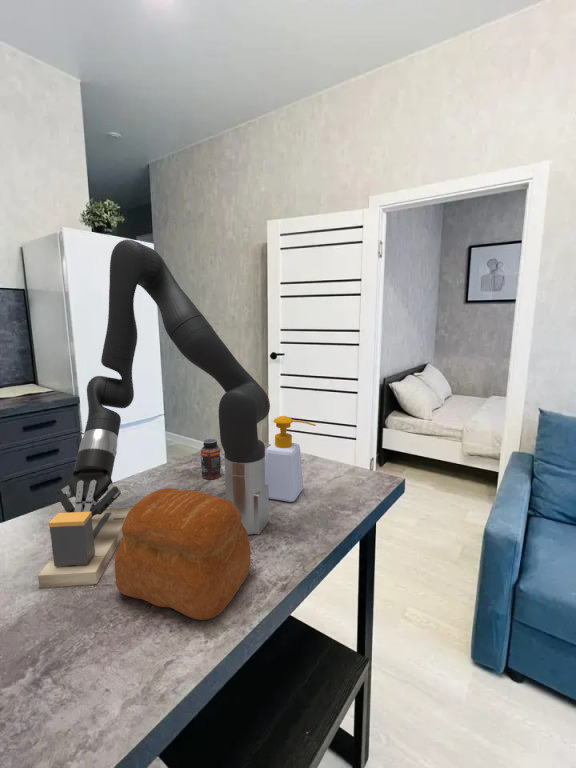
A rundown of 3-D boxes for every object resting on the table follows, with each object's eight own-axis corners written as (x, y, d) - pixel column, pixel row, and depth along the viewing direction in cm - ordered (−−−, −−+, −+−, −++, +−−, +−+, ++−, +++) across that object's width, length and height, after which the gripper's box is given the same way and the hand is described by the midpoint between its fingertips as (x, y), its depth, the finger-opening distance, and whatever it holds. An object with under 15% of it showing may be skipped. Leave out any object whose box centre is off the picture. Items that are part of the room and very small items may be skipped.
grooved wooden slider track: (90, 519, 95) (89, 509, 94) (133, 517, 96) (132, 507, 95) (39, 587, 71) (37, 575, 71) (96, 584, 72) (95, 571, 72)
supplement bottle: (225, 474, 121) (224, 439, 119) (214, 481, 116) (212, 445, 114) (209, 470, 124) (208, 436, 122) (197, 477, 119) (196, 442, 117)
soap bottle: (310, 507, 101) (311, 424, 97) (260, 498, 105) (259, 419, 101) (319, 491, 110) (320, 414, 106) (273, 484, 114) (273, 410, 110)
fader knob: (62, 554, 76) (58, 513, 75) (95, 552, 77) (91, 511, 75) (53, 566, 73) (48, 523, 71) (88, 564, 73) (83, 521, 72)
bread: (168, 545, 85) (164, 471, 82) (258, 568, 77) (257, 488, 74) (104, 599, 69) (96, 511, 65) (210, 636, 61) (206, 537, 58)
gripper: (58, 448, 83) (34, 533, 73) (123, 446, 84) (108, 529, 74) (72, 462, 89) (51, 542, 79) (132, 460, 90) (119, 539, 80)
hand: (79, 536), depth 77 cm, fingers closed
